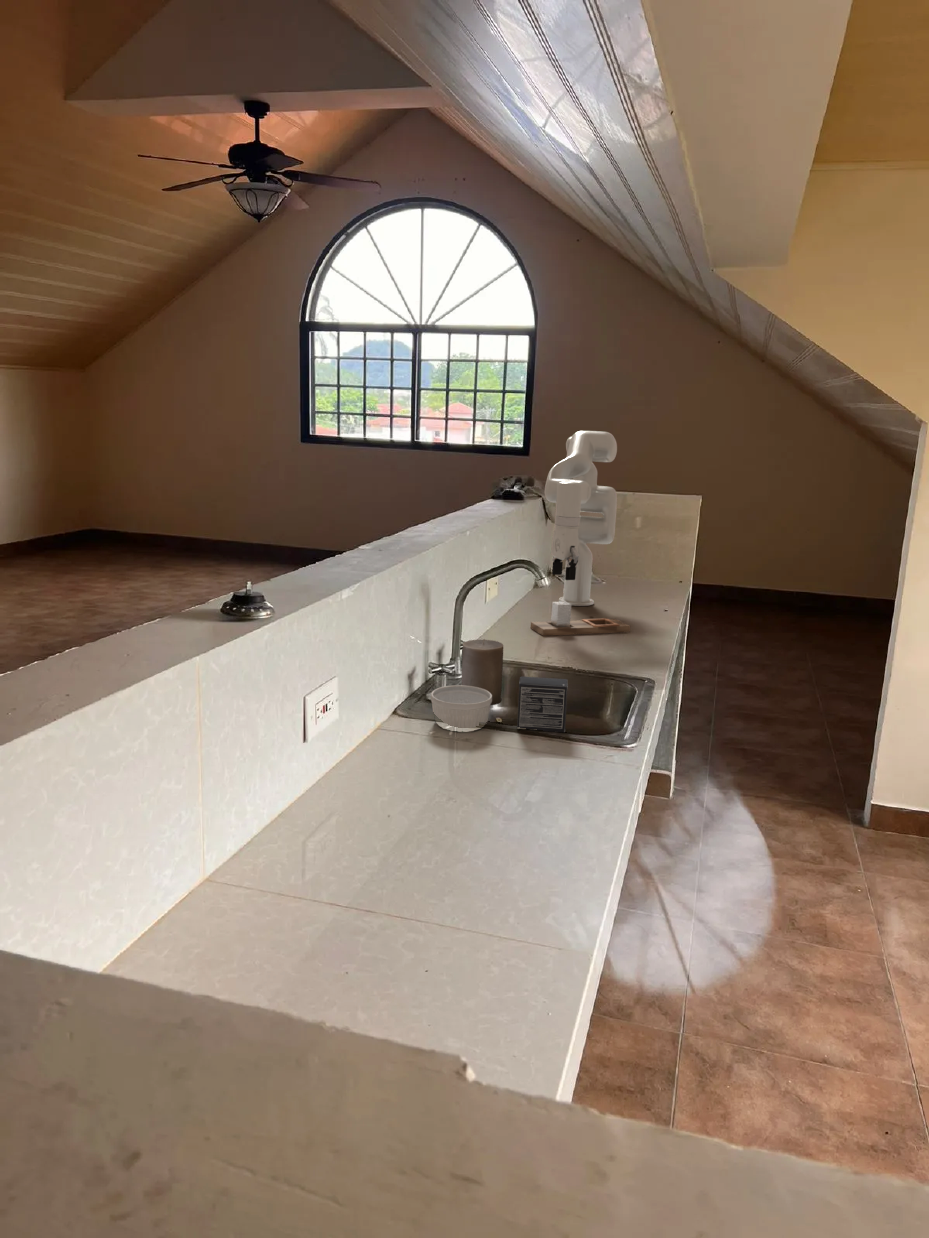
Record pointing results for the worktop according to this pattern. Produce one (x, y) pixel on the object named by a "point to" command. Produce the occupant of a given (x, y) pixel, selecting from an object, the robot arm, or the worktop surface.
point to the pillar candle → (483, 666)
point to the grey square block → (561, 614)
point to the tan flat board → (581, 627)
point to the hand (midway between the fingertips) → (563, 577)
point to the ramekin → (461, 705)
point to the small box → (542, 703)
